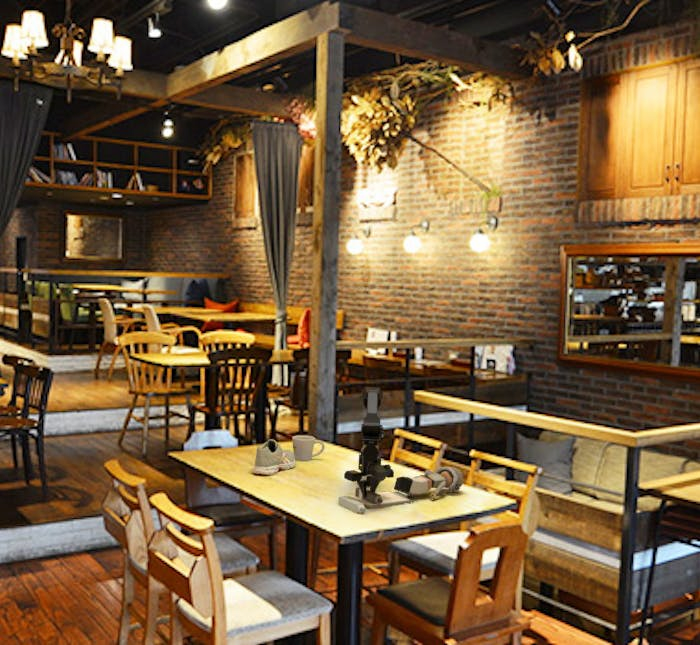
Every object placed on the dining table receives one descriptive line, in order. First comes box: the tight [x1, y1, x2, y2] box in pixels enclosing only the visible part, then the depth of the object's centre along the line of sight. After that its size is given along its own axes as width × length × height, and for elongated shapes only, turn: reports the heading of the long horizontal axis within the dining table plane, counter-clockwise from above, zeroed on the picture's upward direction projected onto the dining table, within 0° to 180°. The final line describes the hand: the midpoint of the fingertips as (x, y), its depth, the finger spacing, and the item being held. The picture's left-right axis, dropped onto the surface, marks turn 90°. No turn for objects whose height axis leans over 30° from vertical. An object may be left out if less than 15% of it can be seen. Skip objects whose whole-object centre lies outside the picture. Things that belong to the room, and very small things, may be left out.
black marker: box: [354, 487, 383, 504], centre depth 297 cm, size 14×3×3 cm, turn 33°
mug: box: [291, 434, 325, 462], centre depth 366 cm, size 10×15×10 cm
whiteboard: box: [348, 490, 415, 510], centre depth 302 cm, size 20×15×2 cm
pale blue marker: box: [337, 495, 367, 514], centre depth 289 cm, size 14×3×3 cm, turn 33°
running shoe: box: [252, 438, 296, 476], centre depth 344 cm, size 11×30×14 cm, turn 161°
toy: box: [393, 466, 464, 500], centre depth 313 cm, size 14×11×30 cm
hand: (368, 497), depth 298 cm, fingers closed on black marker, 3 cm apart
